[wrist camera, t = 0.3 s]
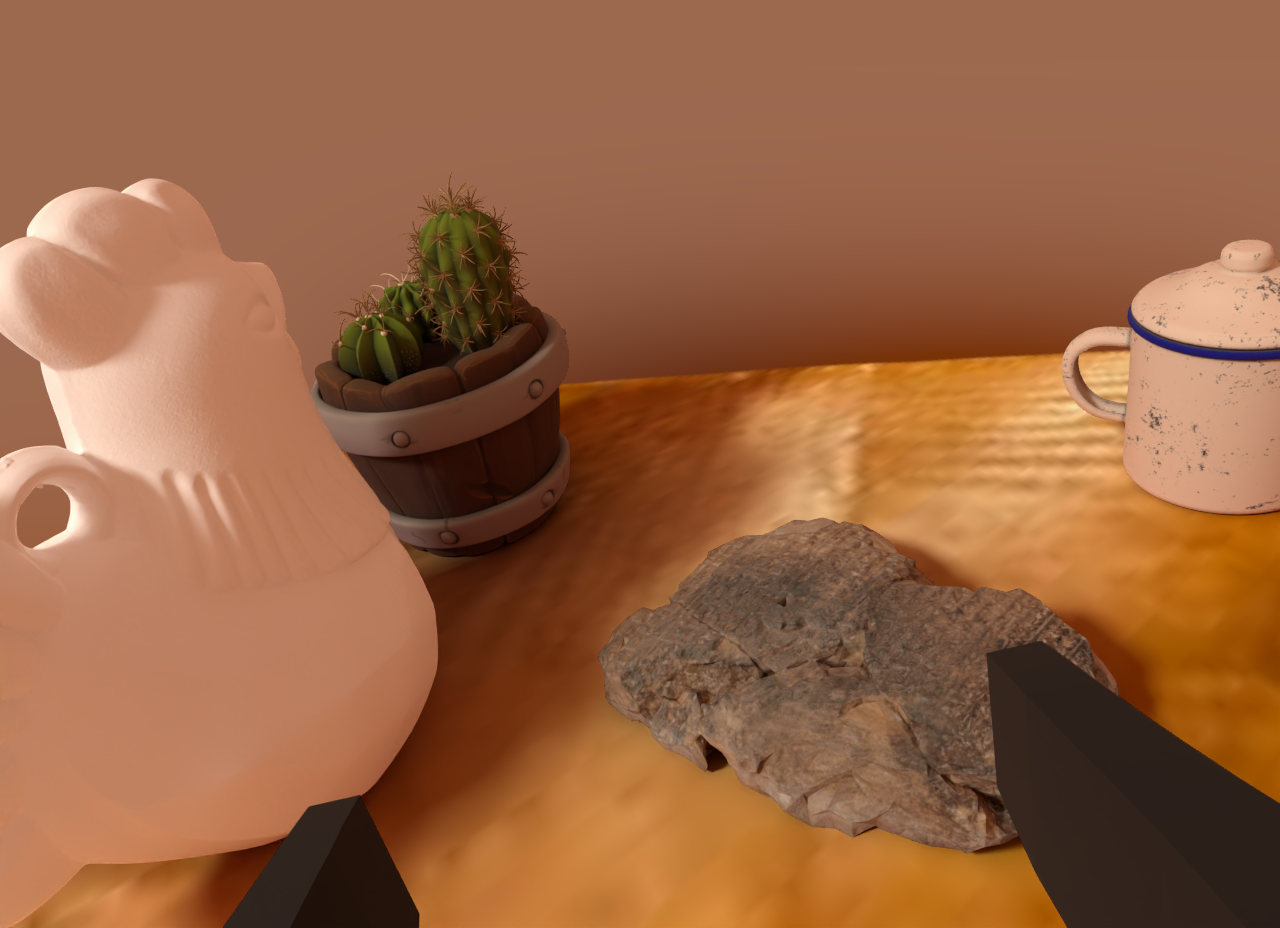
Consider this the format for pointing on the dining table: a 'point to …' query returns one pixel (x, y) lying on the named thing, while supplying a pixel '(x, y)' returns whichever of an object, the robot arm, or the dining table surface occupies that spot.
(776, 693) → the clay tablet
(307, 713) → the white sculpture
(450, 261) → the flowerpot
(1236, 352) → the teacup with lid
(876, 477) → the dining table surface
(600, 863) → the dining table surface
